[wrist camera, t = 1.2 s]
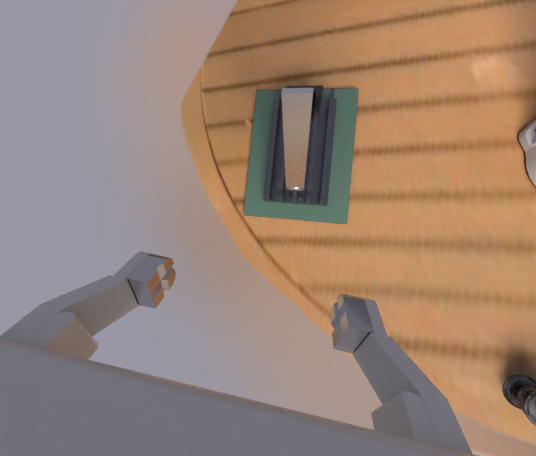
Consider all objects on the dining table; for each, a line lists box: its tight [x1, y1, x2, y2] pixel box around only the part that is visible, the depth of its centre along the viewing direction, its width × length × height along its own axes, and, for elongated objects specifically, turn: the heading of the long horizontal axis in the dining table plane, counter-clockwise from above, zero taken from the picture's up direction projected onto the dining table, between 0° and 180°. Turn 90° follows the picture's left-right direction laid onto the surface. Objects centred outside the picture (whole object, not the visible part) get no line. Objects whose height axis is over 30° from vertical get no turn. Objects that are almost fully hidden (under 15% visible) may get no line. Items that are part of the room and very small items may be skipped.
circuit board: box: [244, 89, 359, 224], centre depth 39 cm, size 26×20×1 cm
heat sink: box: [263, 86, 337, 206], centre depth 36 cm, size 20×12×6 cm, turn 174°
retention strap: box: [281, 88, 313, 191], centre depth 27 cm, size 17×3×1 cm
